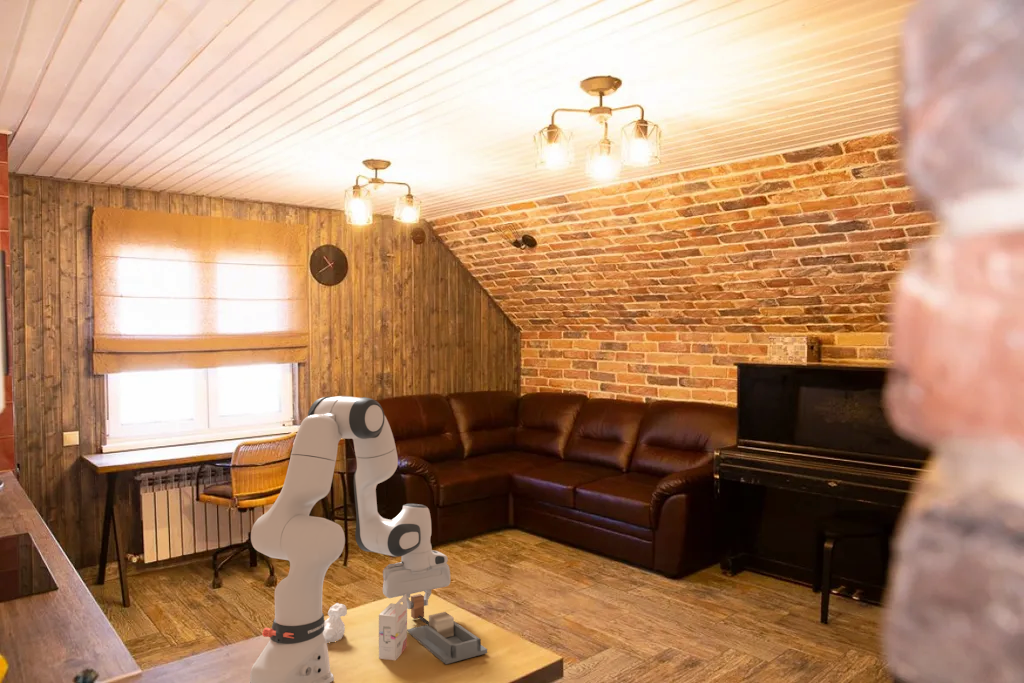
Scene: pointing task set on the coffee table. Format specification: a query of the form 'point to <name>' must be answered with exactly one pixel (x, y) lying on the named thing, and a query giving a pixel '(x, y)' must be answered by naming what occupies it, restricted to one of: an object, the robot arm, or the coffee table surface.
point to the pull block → (433, 617)
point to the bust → (334, 623)
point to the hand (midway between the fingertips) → (417, 606)
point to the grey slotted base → (449, 643)
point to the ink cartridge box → (393, 630)
